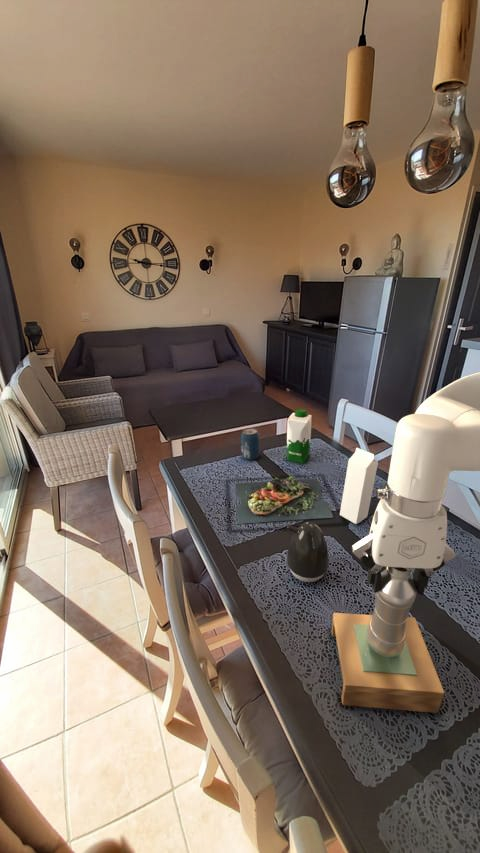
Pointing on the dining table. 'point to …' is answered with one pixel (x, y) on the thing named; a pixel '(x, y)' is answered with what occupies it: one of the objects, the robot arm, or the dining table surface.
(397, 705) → the wooden block
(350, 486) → the milk
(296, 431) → the milk carton
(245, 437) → the soda can
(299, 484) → the plated dish
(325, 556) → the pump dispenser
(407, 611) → the silver metal bottle
